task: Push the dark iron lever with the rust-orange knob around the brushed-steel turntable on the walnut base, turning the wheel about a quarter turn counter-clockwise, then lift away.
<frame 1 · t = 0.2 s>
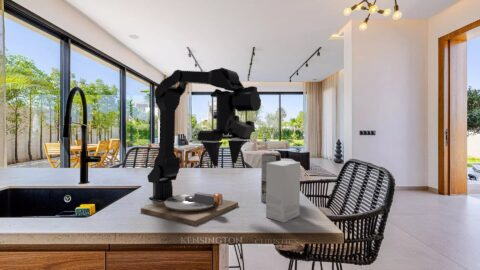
hand: (225, 164, 80), 14 cm above the kitchen island, fingers open, 9 cm apart
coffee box: (271, 199, 96), on the kitchen island
skincare box: (283, 217, 76), on the kitchen island
handwheel: (195, 197, 83), point 4 cm above the kitchen island, hinge at 0.0°
wheel base: (191, 208, 83), on the kitchen island
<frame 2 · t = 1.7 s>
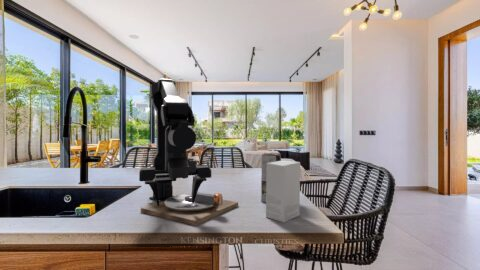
hand: (175, 204, 74), 4 cm above the kitchen island, fingers open, 9 cm apart
nothing on the kitchen island moved.
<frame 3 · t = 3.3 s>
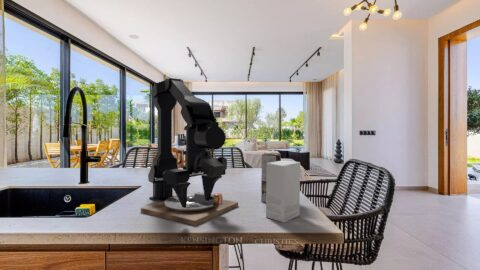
hand: (196, 203, 74), 4 cm above the kitchen island, fingers open, 8 cm apart
handwheel: (195, 197, 83), point 4 cm above the kitchen island, hinge at 0.0°, touching gripper
everything else where it was.
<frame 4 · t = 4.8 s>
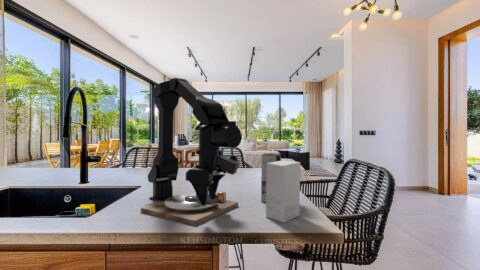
hand: (208, 202, 76), 4 cm above the kitchen island, fingers open, 7 cm apart
handwheel: (196, 197, 83), point 4 cm above the kitchen island, hinge at 13.9°, touching gripper
everything else where it was.
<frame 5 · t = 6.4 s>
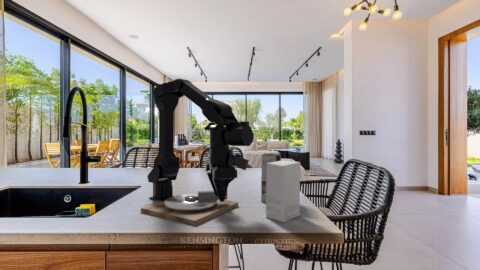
hand: (219, 198, 79), 4 cm above the kitchen island, fingers open, 7 cm apart
handwheel: (196, 196, 84), point 4 cm above the kitchen island, hinge at 40.9°, touching gripper
everything else where it was.
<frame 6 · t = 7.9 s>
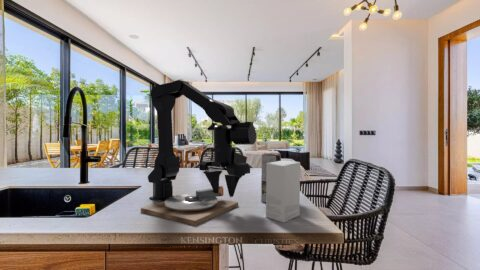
hand: (223, 195, 84), 4 cm above the kitchen island, fingers open, 7 cm apart
handwheel: (196, 196, 84), point 4 cm above the kitchen island, hinge at 66.9°, touching gripper
everything else where it was.
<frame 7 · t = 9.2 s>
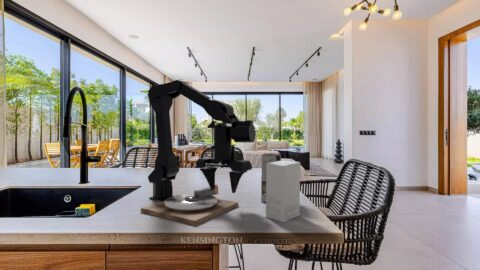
hand: (223, 191, 86), 5 cm above the kitchen island, fingers open, 8 cm apart
handwheel: (195, 195, 85), point 4 cm above the kitchen island, hinge at 82.8°, touching gripper
everything else where it was.
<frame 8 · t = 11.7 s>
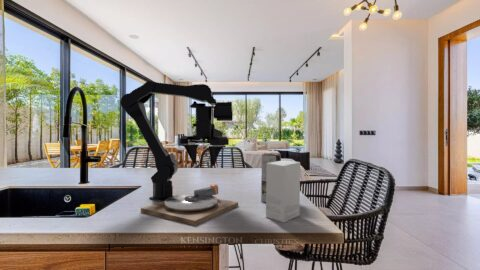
hand: (203, 164, 96), 12 cm above the kitchen island, fingers open, 9 cm apart
handwheel: (195, 195, 85), point 4 cm above the kitchen island, hinge at 82.9°
everything else where it was.
at the end: handwheel at +83° (first picture: +0°) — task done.
